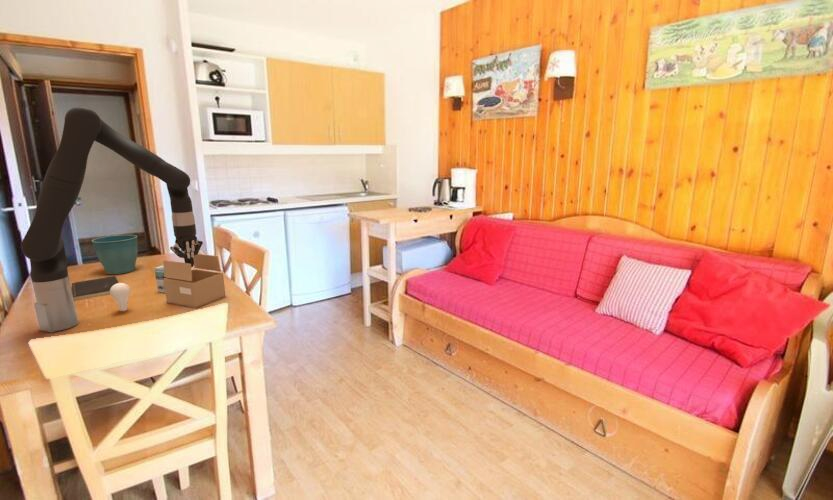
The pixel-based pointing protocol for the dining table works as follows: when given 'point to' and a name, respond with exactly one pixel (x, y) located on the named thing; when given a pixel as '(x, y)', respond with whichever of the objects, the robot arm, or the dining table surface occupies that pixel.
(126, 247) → the flower pot
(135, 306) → the dining table surface
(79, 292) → the hardcover book
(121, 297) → the lightbulb
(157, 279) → the light bulb box
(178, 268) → the near flap
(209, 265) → the far flap
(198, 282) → the carton
